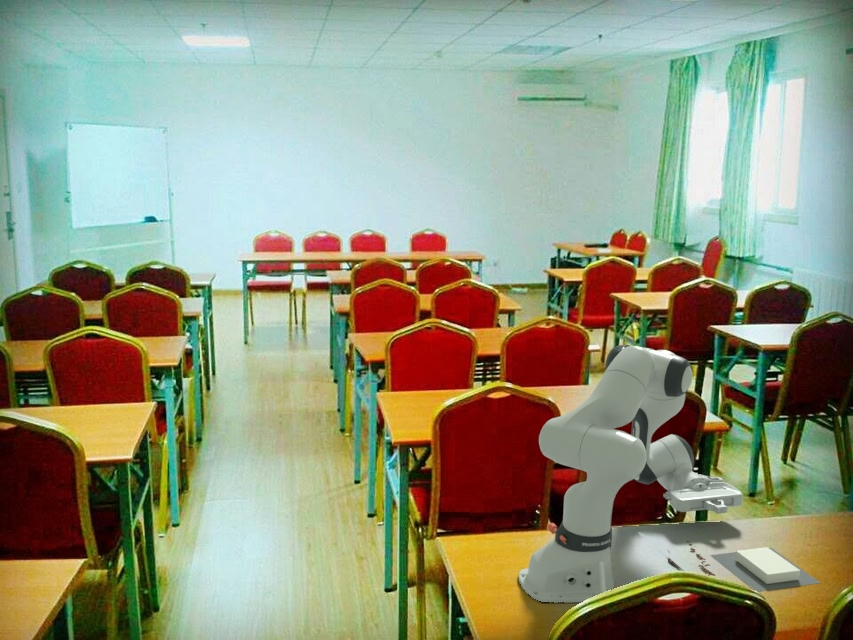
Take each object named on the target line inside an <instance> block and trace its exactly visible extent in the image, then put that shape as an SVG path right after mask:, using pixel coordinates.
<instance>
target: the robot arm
mask: <svg viewBox="0 0 853 640" xmlns="http://www.w3.org/2000/svg"><path fill="white" fill-rule="evenodd" d="M692 381H693V366H692V365H691V363H690V362H689V360H688V359H687V358H684V357H682V356H679V355H677V354H675V353H674V352H672V351H670V350H667V349H657V350H655V349H654V348H649V347H641V346H638V345H631V344H618V345H616V346H614V347H613V348H611V350H609V353H608V354H607V357H606V360H605V371H604V373H603V374H602V376H601V378H600V380H599V382H598V383H597V385H596V386H595V388H594V390H593V392H592V393H591V395H590V396H589V397H588V398H587V399H586V400H585V401H584V402H583V403H582V404H580V405H579V406H577V407H576V408H575V409H573V410H572V411H571V410H570V412H568V413H565V414H562V415H560V416H557V417H552V418H551V419H549V420H547V421H546V422H545V424H543V426H542V428H541V430H540V433H539V435H538V444H539V449H540V452H541V453H542V455H543V456H544V457H546V458H548V459H550V460H551V461H554V462H555V463H557V464H559V465H562V466H566V467H569V468H573V469H577V470H580V471H583V472H586V481H581V482H578V483H575V484H572V485H571V486H570V487H569V488H568V489H567V491H566V492H565V494H564V496H563V511H562V512H563V514H562V521H561V523H560V525H559V527H558V526H557V525H556V524H555V523H554V522H550V523H548V525H547V530H548V531H549V532H550V533H551V534H553V535H554V534H555V535H554V536H555V537H553V538H552V539H551V540H550V541H548V542H547V543H546V544H545V545H543V546H541V547H540V548H539V549H538V550H535V552H533V553H532V555H531V557H530V559H529V563H528V567H527V568H522V569H521V570H519V573H518V577H519V578H518V582H520V583H519V585H520V584H521V585H520V586H521V588H522V590H523V591H524V590H525V591H524V592H525V593H526V594H527V595H528V594H529V595H530V596H531V597H530V596H529V595H528V596H529V597H530V598H531V599H533V598H534V599H533V600H535V599H536V600H535V601H537V600H538V601H537V602H539V601H541V602H550V603H549V604H552V603H551V602H554V603H555V604H557V603H558V602H559V603H560V602H561V603H562V602H564V603H583V602H582V601H584V600H586V599H588V598H591V597H593V596H595V595H598V594H600V593H603V592H605V591H608V590H610V589H612V590H613V589H614V587H615V581H614V577H613V572H612V564H611V563H612V562H611V548H612V543H613V542H612V541H613V528H612V526H611V525H612V514H613V509H614V508H613V507H614V501H615V498H616V495H617V494H618V492H619V490H620V489H621V488H623V486H624V485H625V484H627V483H628V482H630V481H633V480H635V482H638V483H641V484H644V485H650V484H652V483H654V482H656V481H657V482H658V483H659V484H660V485H661V486H662V487H663V488H664V489H665V490H667V491H666V492H665V493H663V494H662V495H663V498H665V500H667V501H669V502H668V503H669V504H670V505H671V507H672V508H673V509H674V510H676V511H677V512H680V513H688V512H697V511H705V510H707V511H710V512H714V513H715V514H725V513H728V508H734V507H740V506H742V505H743V501H744V494H743V492H742V491H741V490H739V489H738V488H737V487H735V486H733V485H732V484H731V483H728V482H724V479H723V478H721V476H720V477H719V476H711V475H710V476H709V475H704V474H701V473H700V474H698V473H696V472H694V471H693V469H694V461H695V459H694V458H695V457H694V452H693V450H692V449H693V448H692V446H691V445H690V444H689V443H688V442H687V440H686V439H684V438H683V437H681V436H679V435H677V434H673V433H671V434H668V435H667V436H664V437H662V438H660V439H657V440H656V441H653V442H652V437H653V435H654V434H655V432H656V431H657V429H659V428H660V427H661V426H662V425H664V424H665V423H666V422H667V421H669V420H670V419H671V418H673V417H675V416H676V415H677V414H679V412H680V411H681V410H682V408H683V407H684V404H685V401H686V393H687V391H688V390H689V389H690V386H691V384H692ZM629 423H631V432H630V433H631V434H629V433H628V432H626V431H623V430H619V429H616V428H620V427H624V426H626V425H628V424H629ZM541 602H540V603H541ZM554 603H553V604H554Z"/></svg>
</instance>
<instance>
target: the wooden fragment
mask: <svg viewBox="0 0 853 640" xmlns="http://www.w3.org/2000/svg"><path fill="white" fill-rule="evenodd" d="M686 543H687V544H688V546H689V547H690V546H691V547H690V551H689V553H692V554H695V556H696V558H697V559H699V561H700V560H701V564H702V565H701V564H698V565H697V567H698V568H699V570H700V571H701V572H703V573H704V575H707V576H713V577H716V574H715V573H713V572H712V571H710V570H708V569H707V568H705V567H708V566H710V564H708V563H707V564H704V563H706V561H705V560H706V558H705V557H703V556H702V554H701V553H696V548H697V545H694V547H696V548H692V547H693V543H690V541H686ZM667 552H668V553H669V554H670V553H671V551H669V549H667ZM667 559H668V563H670V564H672V565H673V566H675V567H677V568H679V569H680V570H682V571H683V572H685V570H684V569H682V567H680V565H678V564H677V563H676V562H675V561H673V560H672V559H671V558H670V557H669V556H668V558H667Z"/></svg>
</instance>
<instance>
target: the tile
mask: <svg viewBox="0 0 853 640" xmlns="http://www.w3.org/2000/svg"><path fill="white" fill-rule="evenodd" d="M769 548H770V547H768V546H765V547H756V548H749V549H747V548H746V549H741V550H736V559H735V560H737V561H738V562H739V563H740V564H741V565H743V566H744V567H745V568H747V569H748V570H749V571H750V572H752V573H753V574H754V575H756V576H757V577H758V578H759V579H761V580H762V581H763V582H765V583H766V584H773V583H780V582H788V581H795V580H799V578H800V570H799V569H798V568H796V567H795V566H793V565H792V564H791V563H789V562H788V561H786V560H785V559H783V558H782V557H781V556H779V555H778V554H776V553H775V552H774V551H772V550H771V549H769Z"/></svg>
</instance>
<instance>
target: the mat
mask: <svg viewBox="0 0 853 640" xmlns="http://www.w3.org/2000/svg"><path fill="white" fill-rule="evenodd" d="M768 548H769V549H771V550H772V551H774V552H775V553H776V554H778V555H779V556H781V557H782V558H783V559H785V560H786V561H788V562H789V563H791V564H792V565H793V566H795V567H796V568H798V569H799V570H800V578H799V580H795V581H788V582H780V583H773V584H766V583H765V582H763V581H762V580H761V579H759V578H758V577H757V576H756V575H754V574H753V573H752V572H750V571H749V570H748V569H747V568H745V567H744V566H743V565H741V564H740V563H739V562H738V561H737V560H735V559H736V552H735V551H734V552H733V551H732V552H726V553H717V554H710V556H711V558H713V560H716V562H717V563H719V564H720V565H721V566H723V567H724V568H725V569H726V570H728V571H729V572H730V573H731V574H733V575H734V576H735V577H736V578H738V580H740V581H741V582H743V583H744V584H745V585H746V586H748V587H749V588H750V589H751V588H753V589H754V590H756V591H758V592H765V591H766V592H767V591H773V590H779V589H786V588H787V589H789V588H795V587H802V586H809V585H817V584H821V583H822V582H821V581H820V580H817V579H816V577H814V576H812V575H811V574H809V573H808V572H806V571H805V570H804V569H803V568H800V567H799V566H798V565H796V564H795V563H794V562H792V561H791V560H789V559H788V558H786V557H785V556H783V555H782V554H781V553H780V552H778V551H777V550H775V548H772V547H768ZM750 586H751V587H750ZM753 589H752V590H753ZM754 590H753V591H754ZM758 592H757V593H758Z"/></svg>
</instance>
